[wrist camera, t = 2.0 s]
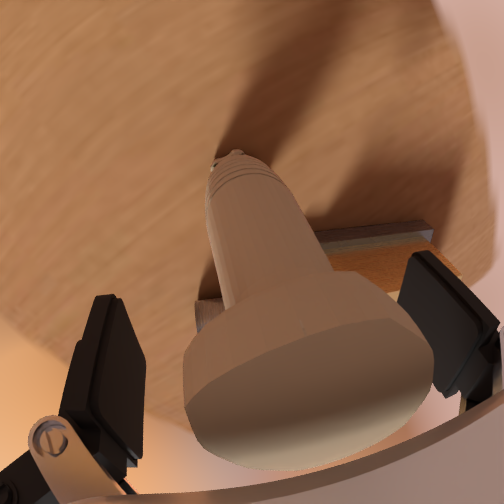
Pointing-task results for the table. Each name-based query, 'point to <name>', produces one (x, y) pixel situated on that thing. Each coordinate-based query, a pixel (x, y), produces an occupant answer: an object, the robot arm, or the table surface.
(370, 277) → the socket
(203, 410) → the handle
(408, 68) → the table surface
